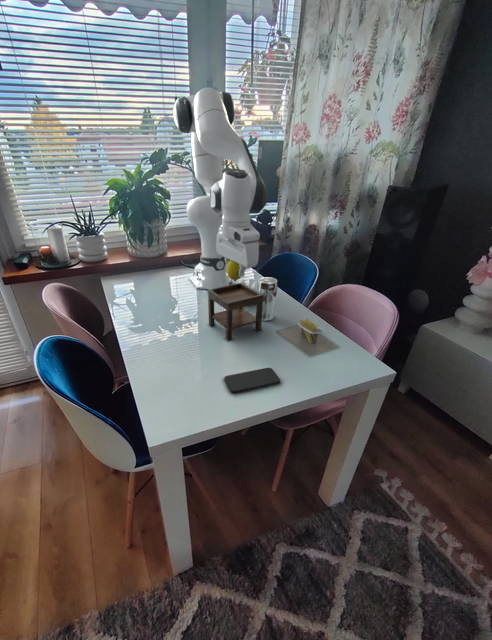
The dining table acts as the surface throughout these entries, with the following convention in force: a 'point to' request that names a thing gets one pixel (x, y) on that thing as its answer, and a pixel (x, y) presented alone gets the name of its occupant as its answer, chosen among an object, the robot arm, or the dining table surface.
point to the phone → (251, 380)
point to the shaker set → (254, 286)
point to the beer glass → (268, 296)
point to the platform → (307, 338)
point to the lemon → (233, 270)
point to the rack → (235, 307)
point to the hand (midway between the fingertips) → (235, 273)
